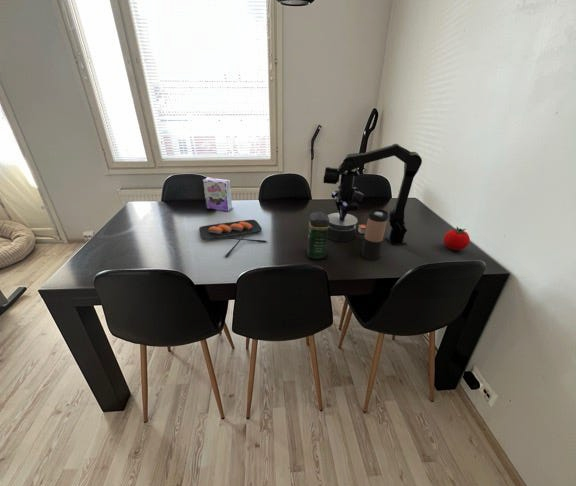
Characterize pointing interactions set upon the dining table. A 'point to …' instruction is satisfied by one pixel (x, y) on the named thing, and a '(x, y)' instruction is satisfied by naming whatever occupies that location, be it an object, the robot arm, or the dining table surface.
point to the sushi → (362, 229)
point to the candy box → (217, 194)
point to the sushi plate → (230, 230)
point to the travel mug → (374, 233)
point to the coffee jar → (317, 235)
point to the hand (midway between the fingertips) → (342, 217)
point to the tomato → (456, 239)
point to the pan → (341, 232)
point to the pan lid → (342, 220)
